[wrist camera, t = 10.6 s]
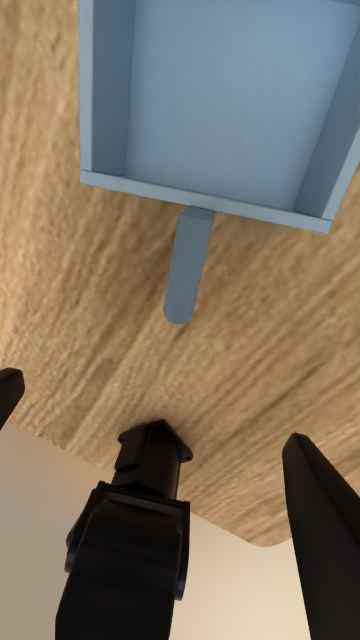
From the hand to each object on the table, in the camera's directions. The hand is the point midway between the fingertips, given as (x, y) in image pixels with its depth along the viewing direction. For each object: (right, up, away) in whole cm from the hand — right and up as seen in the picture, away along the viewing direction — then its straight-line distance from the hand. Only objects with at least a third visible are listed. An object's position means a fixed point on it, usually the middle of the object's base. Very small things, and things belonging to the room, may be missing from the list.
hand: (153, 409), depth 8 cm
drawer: (+3, +13, +7) cm, 15 cm away
